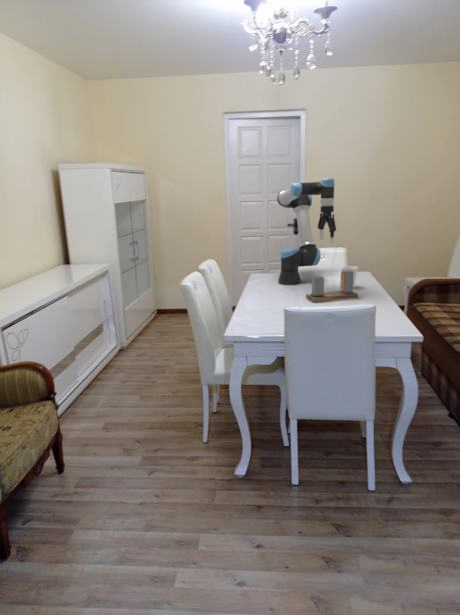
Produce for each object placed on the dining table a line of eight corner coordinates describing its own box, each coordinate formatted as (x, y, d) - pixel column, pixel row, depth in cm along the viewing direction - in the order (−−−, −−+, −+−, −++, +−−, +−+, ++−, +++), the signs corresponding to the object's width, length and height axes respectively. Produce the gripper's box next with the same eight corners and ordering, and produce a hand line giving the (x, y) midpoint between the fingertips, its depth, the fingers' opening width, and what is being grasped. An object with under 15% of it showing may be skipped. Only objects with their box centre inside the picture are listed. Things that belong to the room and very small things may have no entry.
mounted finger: (352, 293, 252) (353, 271, 248) (343, 294, 251) (344, 272, 247) (349, 291, 256) (350, 270, 252) (339, 292, 254) (340, 270, 251)
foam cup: (355, 289, 270) (356, 269, 267) (340, 288, 274) (340, 268, 270) (357, 286, 278) (358, 266, 275) (342, 285, 282) (343, 265, 279)
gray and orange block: (311, 298, 251) (311, 276, 247) (320, 297, 252) (321, 275, 249) (314, 300, 247) (314, 278, 244) (323, 299, 249) (324, 277, 245)
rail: (306, 298, 254) (306, 294, 253) (349, 294, 259) (349, 290, 259) (313, 302, 244) (313, 298, 243) (358, 298, 250) (358, 294, 249)
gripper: (312, 204, 266) (312, 239, 272) (330, 206, 243) (329, 244, 249) (323, 204, 268) (323, 238, 273) (343, 206, 244) (341, 243, 250)
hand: (326, 241), depth 261 cm, fingers open, 13 cm apart
